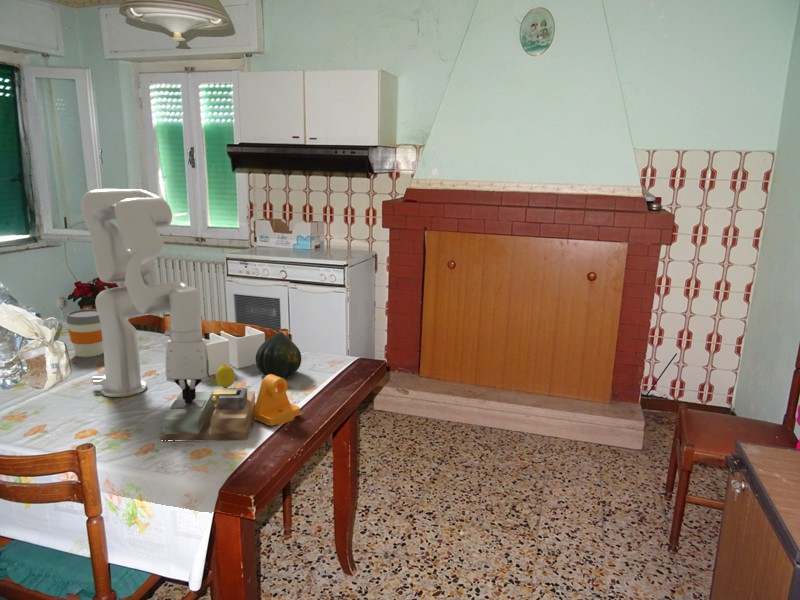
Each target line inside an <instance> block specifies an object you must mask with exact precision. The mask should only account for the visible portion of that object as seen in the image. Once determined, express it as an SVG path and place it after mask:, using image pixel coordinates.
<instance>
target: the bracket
mask: <svg viewBox="0 0 800 600" xmlns="http://www.w3.org/2000/svg"><path fill="white" fill-rule="evenodd" d="M287 390H288V381H287V380H286V379H285V378H281V377H278V376H275V375H273V374H269V375H267V376H266V375H265V376H264V377H263V379H262V380H261V383H260V387H259V391H258V395H257V399H256V400H255V403H256V405H255V408H254V420H257V421H259V422H261V423H263V424H265V425H267V426H269V427H270V426H275V425H276V426H278V427H279V426H281V425H284V424H286V423H289V422H291V421H294V420H295V417H298V416H300V415H301V407H300V406H299V405H296V404H294V403H291V402H290V401H289V397H288V395H287Z"/></svg>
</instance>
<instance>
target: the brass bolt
mask: <svg viewBox="0 0 800 600" xmlns="http://www.w3.org/2000/svg"><path fill="white" fill-rule="evenodd" d="M212 392H213V394H212V399H211V402H212V403H213V405H219V396H237V395H238V390H223V389H214V390H213V391H212Z"/></svg>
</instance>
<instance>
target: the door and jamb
mask: <svg viewBox="0 0 800 600" xmlns="http://www.w3.org/2000/svg"><path fill="white" fill-rule="evenodd" d="M222 390H238V395H237V396H219V405H213V403H212V402H211V399H212V394H213V392H214V391H196V398H195V399H194V400H193V402H192V403H191V404H189V403H187V404H185V399H183V396H182V391H181V392H180V393H179V395H178V397H177V398H176V399H175V400H174V401H173V402H172V404H171V406H170V407H169V410H168V411H167V412H166V414H165V416H164V417H163V418H162V427H163V431H162V433H161V434H160V437H159V439H160V441H161V440H163V441H165V440H166V441H168V440H173V441H172V442H176V441H175V440H217V441H246V440H247V441H248V439H249V435H250V432H251V429H252V426H253V423H254V420H255V419H254V408H255V405H256V391H254V390H248V387H228V388H223V387H222Z"/></svg>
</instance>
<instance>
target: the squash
mask: <svg viewBox="0 0 800 600" xmlns="http://www.w3.org/2000/svg"><path fill="white" fill-rule="evenodd" d="M301 364H302V354H301V351H300V349H299V347H298V346H297V345H296V344H295V343H294V342H293V341H292V340H291V338H289V337H288V336H287V334H285V333H284V332H282V331H281V332H277V333H275V334H273V335H272V336H270V337H269V338H268V339H265V342H264V343H263V344H262V345H261V346H260V347H259V349H258V351H257V353H256V364H255V365H256V368H257V369H258V371H259V372H260V374H262V375H263V376H265V377H266V376H267V375H269V374H273V375H275V376H278V377H281V378H283V379H285V378H290V377H292V376H293V375H295V373H296V372H297V371H298V370H299V369H300V367H301Z"/></svg>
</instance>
